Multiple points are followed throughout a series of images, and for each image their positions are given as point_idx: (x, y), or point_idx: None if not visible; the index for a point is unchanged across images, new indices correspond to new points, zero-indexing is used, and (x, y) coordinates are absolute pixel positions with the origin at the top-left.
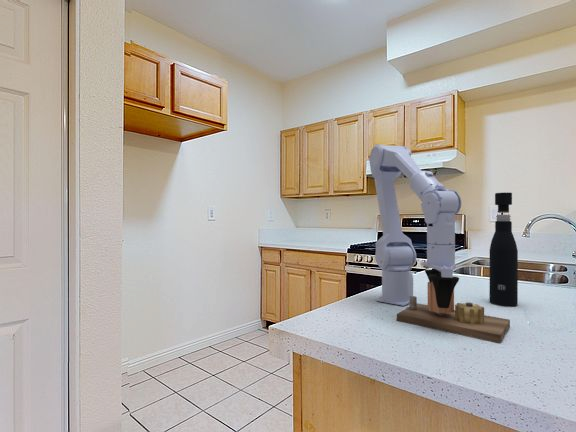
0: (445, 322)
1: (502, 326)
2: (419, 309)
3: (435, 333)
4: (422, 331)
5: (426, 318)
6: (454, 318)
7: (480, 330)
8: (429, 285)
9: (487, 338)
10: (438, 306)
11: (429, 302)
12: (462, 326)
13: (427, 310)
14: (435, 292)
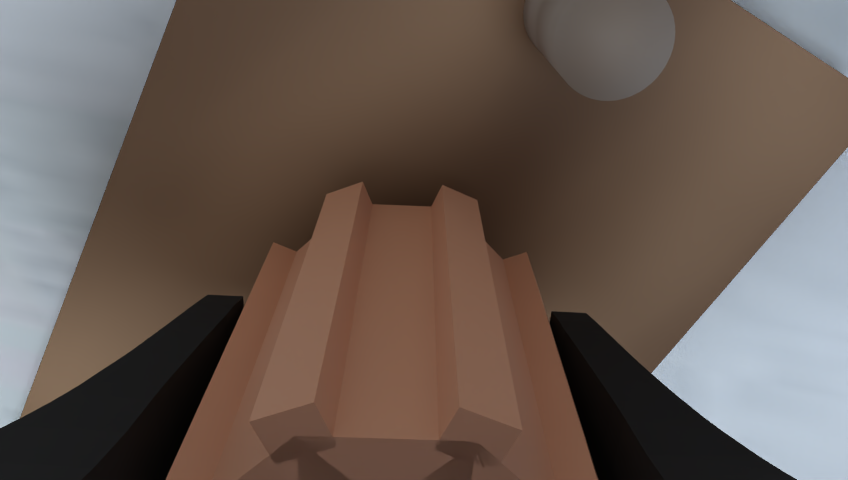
0: (126, 268)
1: None
2: (573, 97)
3: (6, 127)
4: (7, 9)
5: (203, 109)
6: None
7: None
8: (283, 391)
9: None
10: (198, 301)
11: (329, 231)
12: (66, 375)
13: (541, 183)
14: (104, 388)
